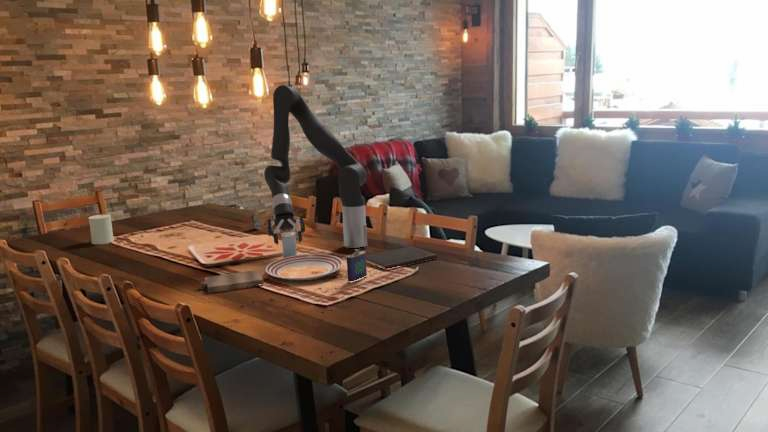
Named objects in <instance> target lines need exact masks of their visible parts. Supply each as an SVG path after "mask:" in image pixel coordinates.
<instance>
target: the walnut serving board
mask: <svg viewBox="0 0 768 432" xmlns="http://www.w3.org/2000/svg"><path fill="white" fill-rule="evenodd" d="M259 284H264V279H263V277H262V276H261V274H260V273H259V271H258V270H249V271H241V272H234V273H233V272H232V273H227V274H220V275H219V274H218V275H212V276H206V277H204V281H201V282H199V289H200V290H207V293H208V294H212V293H219V292H226V291H234V290H241V289H248V288H254V287H253V286H255V285H259ZM247 287H248V288H247ZM255 287H256V286H255Z"/></svg>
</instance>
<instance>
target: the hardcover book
mask: <svg viewBox="0 0 768 432" xmlns="http://www.w3.org/2000/svg"><path fill="white" fill-rule="evenodd" d="M433 258H437V259H438V256H437V254H436V253H433V252H430V251H428V250H425V249H422V248H419V247H415V246H413V245H411V246H410V245H409V246H407V247H406V246H405V247H401V248H397V249H391V250H388V251H383V252H379V253H373V254H369V255H366V261H367V262H370V263H372V264H375V265H377V266H380V267H382V268H385V269H387V268H392V267H397V266H403V265H408V264H412V263H417V262H421V261H425V260H429V259H433Z"/></svg>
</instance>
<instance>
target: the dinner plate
mask: <svg viewBox="0 0 768 432" xmlns="http://www.w3.org/2000/svg"><path fill="white" fill-rule="evenodd" d="M306 265H308V266H309V265H310V266H315V265H316V266H318V265H319V266H321V267H322V268H323V267H325V268H327V269H328V272H327V271H326V272H325V273H323V274H321V275H317V276H312V277H306V278H285V277H283V276H281V275H280V274H279V273H280V271H281V270H284V269H285V268H291V267H293V268H294V267H299V266H301V267H302V266H306ZM343 266H344V261H343V260H342V258H340V257H338V256H336V255H332V254H324V253H323V254H322V253H309V254H305V253H304V254H297V255H295V256H290V257H285V258H283V257H282V258H279V259H276V260H274V261H272V262H270V263H268V264H267V265H266V266H265V273H267V275H270V276H271V277H274V278H278V279H282V280H286V279H287V281H294V280H305V281H310V280H309V279H313V280H316V279H315V278H318V279H321V278H324V277H326V276H329V275H332V274H333V273H335V272H337V271H339V270H340V269H341V268H342V267H343ZM320 277H321V278H320Z"/></svg>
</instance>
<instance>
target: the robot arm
mask: <svg viewBox="0 0 768 432" xmlns="http://www.w3.org/2000/svg"><path fill="white" fill-rule="evenodd" d="M272 99H273V100H272V103H273V104H272V105H273V106H272V107H273V131H272V132H273V135H272V141H271V142H272V143H271V144H272V145H271V152H270V153H271V154H270V155H271V156H270V157H271V159H272V160H275V161H278V162H280V164H281V165H280V166H279V165H271V164H270V165H268V166H267V167H265V169H264V172H263V174H264V176H263V177H264V179H265V183H266V184H267V186H268V188H269V190H270V192H271V199H272V209H273V210H274V216H275V221H271V220H268V224H267V225H268V228H267V234H268V236H269V237H271V236H272V237H273V242H274V244H275V245H277V246H278V245H279V237H278V234H279V233H280V232H281V231H282V232H286V231H291V230H292V232H295V233H296V236H297V241H298V243H302V240H303V234H304V233H305V232H306V225H305V221H304V218H303V216H300V217H299V218H296V217H295V213H294V208H293V204H292V202H293V201H292V199H291V194H290V189H289V186H288V185H287V184H288V183H289V181H290V180H291V170H290V160H289V155H290V145H291V136H290V135H291V133H290V127H289V118H290V114H291V115H292V116H293V117H294V118H295V120H296V121H297V122H298V124H299V126H300V127H301V130H302V132H303V134H304V136H305V137H306V139H307V140H308V141H309V144H311V146H312V147H314V149H315V150H316V151H317V152H319V153H320V154H321V155H323V156H324V157H326V158H328V159H329V160H330V161H332V162H333V163H334V164H335V165H336V166H337V167H338V168H339V169H340V170H339V173H338V178H337V179H338V180H337V181H338V192H339V200H341V208H342V210H341V211H342V228H343V229H342V230H343V247H344V246H345V247H348V248H357V247H363V246H367V247H368V231H367V230H368V229H367V222H366V221H367V218H366V217H367V216H366V199H365V197H364V196H363V195H362V191H361V186H363V185H364V184H365V183H366V182H367V179H368V174H367V171H366V169H365V168H364V167H363V165H362V164H360V162H359V161H358V160H357V159H355V158H354V157H353V155H351V154H350V153H349V152H348V151H347V149H346V148H345V147H344V146H343V144H342V143H341V142H340V141H339V140H338V138H337V137H336V136H335V135H334V132H332V131H331V129H329V127H328V126H327V125H326V124H325V123H324V122H323V121H322V119H321V118H320V117H319V116H318V115H317V114H316V113H315V112H314V111H313V110H312V109H311V107H310V106H309V105H308V103H307V102H306V100H305V99H304V97H303V95H301V93H300V92H299V90H297V89H296V88H295V87H293V86H290V85H287V84H281V85H279V86H277V87H276V88H275V89H274V91H273V95H272ZM296 223H297V224H296ZM273 224H275V225H274V226H276V227H275V229H274V231H273V230H272V227H273ZM298 225H299V226H300V227H299V226H298ZM345 247H344V248H345ZM348 248H347V249H348Z"/></svg>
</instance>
